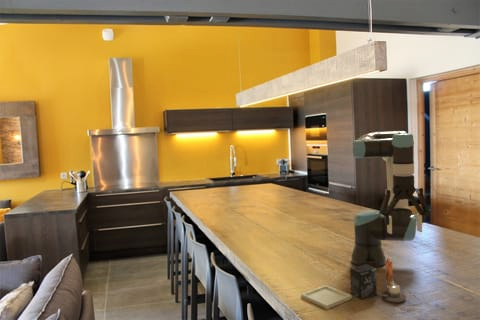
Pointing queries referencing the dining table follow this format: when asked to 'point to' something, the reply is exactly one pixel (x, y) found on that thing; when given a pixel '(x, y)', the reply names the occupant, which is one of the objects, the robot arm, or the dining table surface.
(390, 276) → the crank
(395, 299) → the crank base
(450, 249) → the dining table surface
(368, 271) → the box
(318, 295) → the tray
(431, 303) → the dining table surface
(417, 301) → the dining table surface
